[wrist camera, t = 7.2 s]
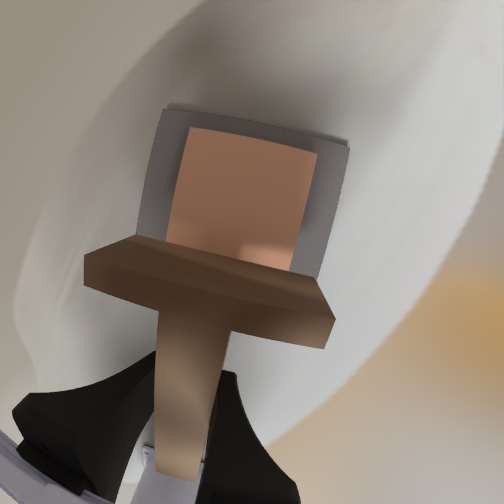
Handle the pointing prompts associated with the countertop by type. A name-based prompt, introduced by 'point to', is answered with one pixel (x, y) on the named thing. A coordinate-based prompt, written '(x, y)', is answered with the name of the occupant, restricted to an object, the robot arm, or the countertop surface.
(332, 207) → the mat
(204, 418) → the wooden t-shaped piece
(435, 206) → the countertop surface
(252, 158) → the tile
